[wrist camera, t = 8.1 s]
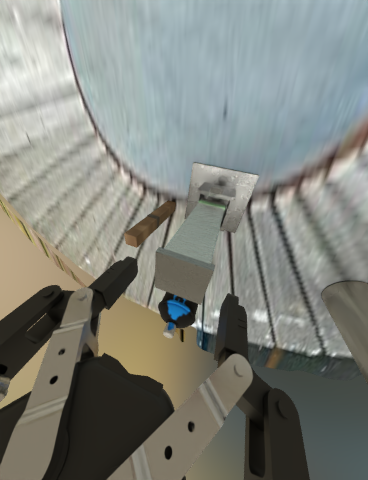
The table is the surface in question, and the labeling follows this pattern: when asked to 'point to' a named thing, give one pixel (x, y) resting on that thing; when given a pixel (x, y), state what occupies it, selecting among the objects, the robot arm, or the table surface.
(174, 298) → the aerosol can
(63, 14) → the table surface
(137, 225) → the banded wooden rod
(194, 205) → the stand base
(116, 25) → the table surface
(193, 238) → the grey-green long block
